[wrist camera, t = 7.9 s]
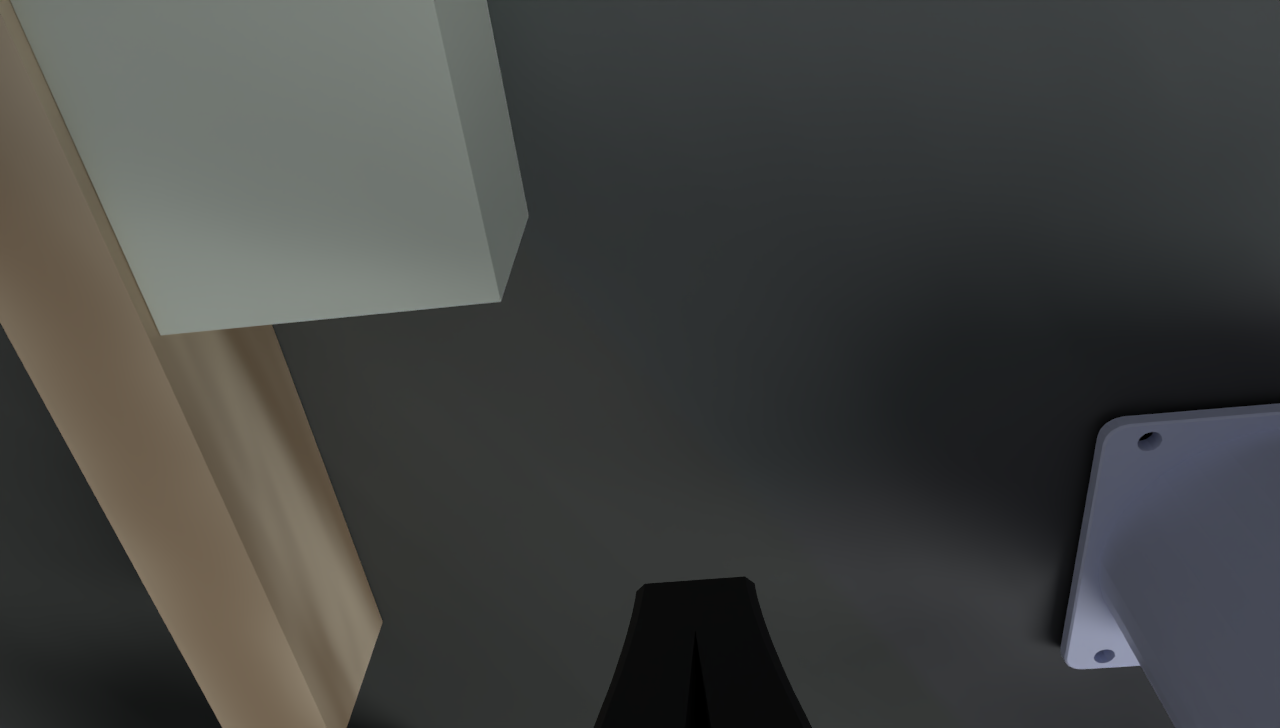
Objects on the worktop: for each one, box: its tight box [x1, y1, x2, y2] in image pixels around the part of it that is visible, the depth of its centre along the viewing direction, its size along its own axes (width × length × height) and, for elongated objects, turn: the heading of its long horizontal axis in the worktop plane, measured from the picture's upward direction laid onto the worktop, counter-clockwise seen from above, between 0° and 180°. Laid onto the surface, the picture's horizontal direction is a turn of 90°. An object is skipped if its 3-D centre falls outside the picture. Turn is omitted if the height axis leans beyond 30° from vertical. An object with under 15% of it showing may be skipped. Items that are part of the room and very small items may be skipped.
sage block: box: [10, 0, 529, 335], centre depth 15 cm, size 6×8×4 cm
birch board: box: [0, 0, 383, 728], centre depth 17 cm, size 2×22×4 cm, turn 7°
